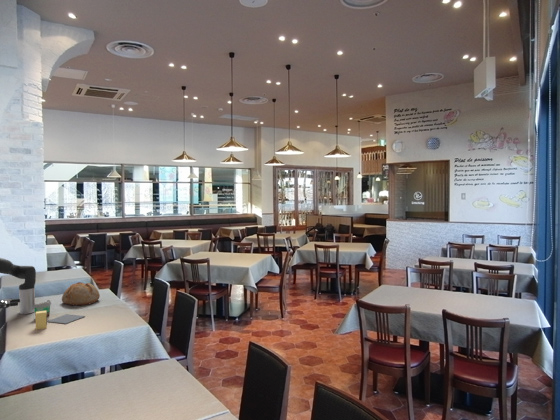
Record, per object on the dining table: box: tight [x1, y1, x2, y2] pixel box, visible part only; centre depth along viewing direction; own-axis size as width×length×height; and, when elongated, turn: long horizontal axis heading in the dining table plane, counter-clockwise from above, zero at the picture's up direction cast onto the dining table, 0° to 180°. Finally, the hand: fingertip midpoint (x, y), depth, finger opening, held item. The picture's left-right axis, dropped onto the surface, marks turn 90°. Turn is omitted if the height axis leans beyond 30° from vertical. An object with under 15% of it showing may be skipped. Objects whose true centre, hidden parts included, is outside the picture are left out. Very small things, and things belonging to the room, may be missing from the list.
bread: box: [61, 281, 101, 306], centre depth 300 cm, size 26×23×15 cm
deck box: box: [34, 310, 48, 330], centre depth 240 cm, size 5×6×10 cm
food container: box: [34, 299, 52, 318], centre depth 262 cm, size 12×6×10 cm, turn 168°
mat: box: [47, 313, 86, 325], centre depth 256 cm, size 16×16×1 cm
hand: (19, 302), depth 234 cm, fingers open, 8 cm apart
